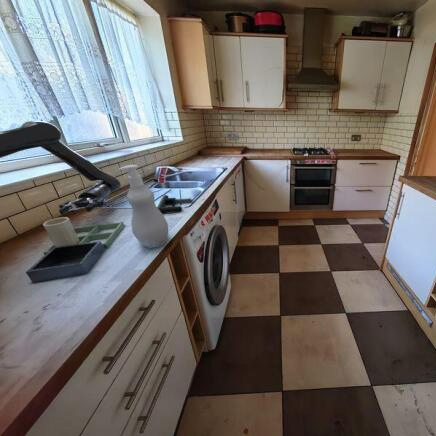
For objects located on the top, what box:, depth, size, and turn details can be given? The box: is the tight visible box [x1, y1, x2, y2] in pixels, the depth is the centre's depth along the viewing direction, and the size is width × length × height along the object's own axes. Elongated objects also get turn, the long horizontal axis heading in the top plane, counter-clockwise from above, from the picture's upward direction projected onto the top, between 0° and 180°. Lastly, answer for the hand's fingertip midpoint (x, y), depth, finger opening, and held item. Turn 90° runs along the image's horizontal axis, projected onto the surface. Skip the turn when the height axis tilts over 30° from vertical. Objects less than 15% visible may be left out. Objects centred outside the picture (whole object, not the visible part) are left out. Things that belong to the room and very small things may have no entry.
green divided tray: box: [42, 221, 125, 256], centre depth 88 cm, size 18×18×2 cm
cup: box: [42, 216, 81, 247], centre depth 82 cm, size 7×7×11 cm
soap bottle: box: [117, 164, 169, 249], centre depth 81 cm, size 17×12×29 cm
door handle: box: [156, 194, 193, 214], centre depth 118 cm, size 3×20×16 cm
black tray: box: [25, 240, 106, 283], centre depth 74 cm, size 14×14×4 cm
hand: (74, 211), depth 89 cm, fingers open, 8 cm apart
